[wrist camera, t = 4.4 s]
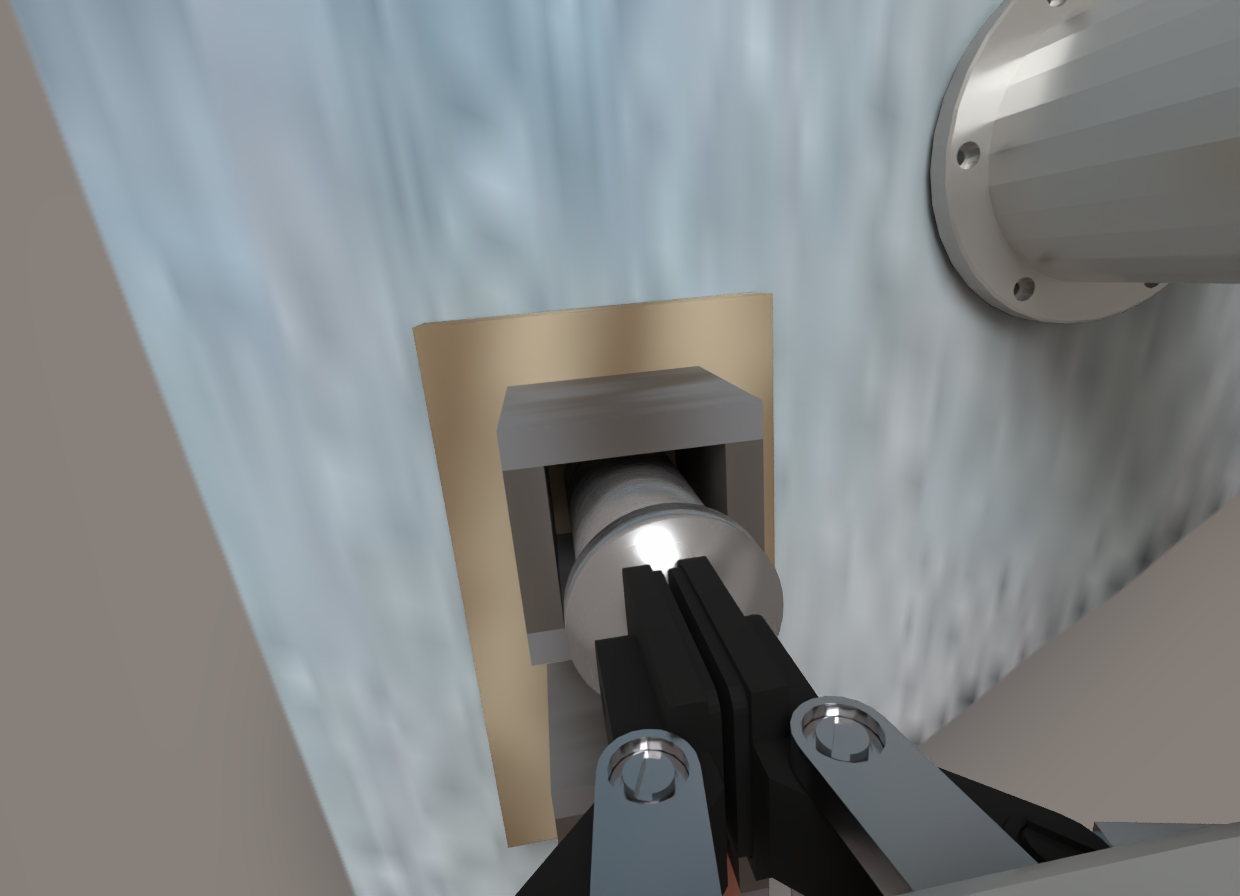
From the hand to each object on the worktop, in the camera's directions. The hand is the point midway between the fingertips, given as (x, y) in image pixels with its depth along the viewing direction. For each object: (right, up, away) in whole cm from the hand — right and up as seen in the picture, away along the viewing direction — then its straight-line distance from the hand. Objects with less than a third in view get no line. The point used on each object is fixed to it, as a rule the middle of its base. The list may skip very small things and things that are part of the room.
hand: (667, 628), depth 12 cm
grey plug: (-1, +3, +8) cm, 9 cm away
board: (-1, -2, +13) cm, 13 cm away
